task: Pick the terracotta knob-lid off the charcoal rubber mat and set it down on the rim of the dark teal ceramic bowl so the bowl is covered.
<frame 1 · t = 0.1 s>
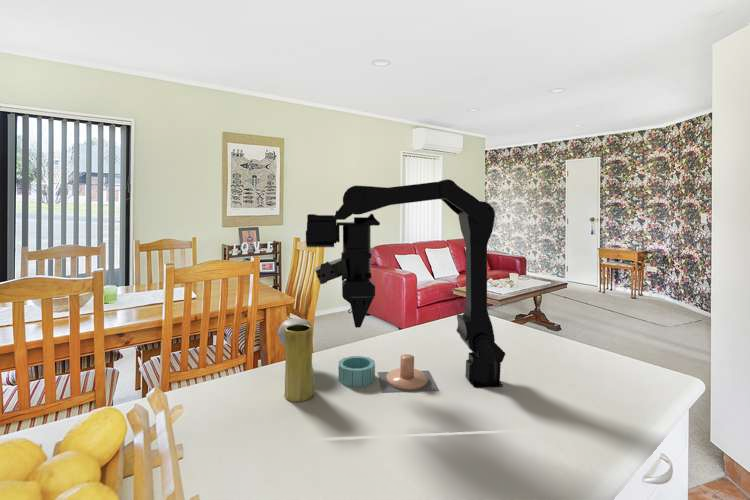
hand: (356, 320, 85), 15 cm above the kitchen counter, fingers open, 9 cm apart
vase: (299, 395, 83), on the kitchen counter
lid: (406, 380, 89), resting on mat
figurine: (296, 369, 95), on the kitchen counter
mat: (406, 382, 89), on the kitchen counter
bowl: (356, 380, 90), on the kitchen counter
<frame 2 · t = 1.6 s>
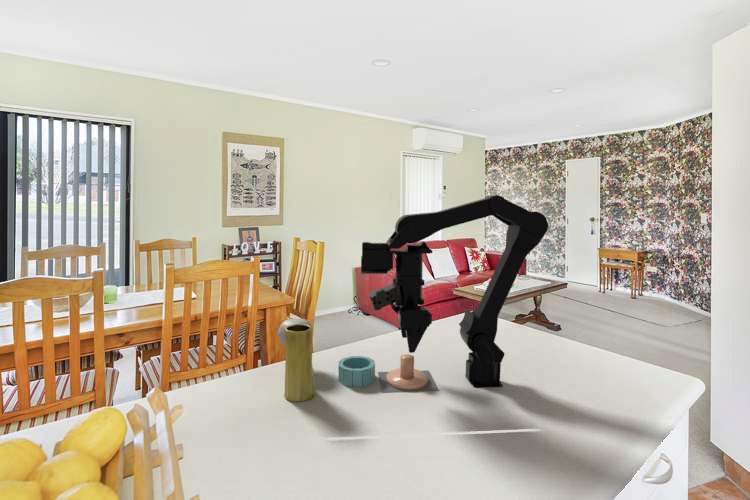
hand: (408, 344, 88), 9 cm above the kitchen counter, fingers open, 9 cm apart
nothing on the kitchen counter moved.
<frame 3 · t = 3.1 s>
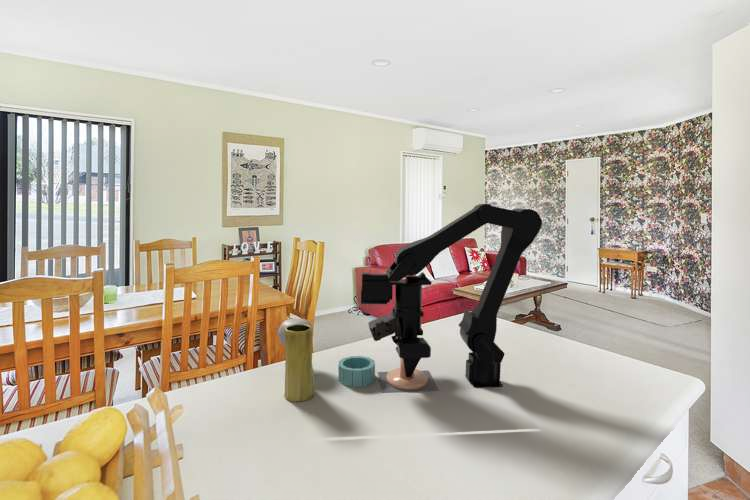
hand: (407, 373, 88), 2 cm above the kitchen counter, fingers closed on lid, 3 cm apart
lid: (406, 380, 89), resting on mat, touching gripper
everything else where it was.
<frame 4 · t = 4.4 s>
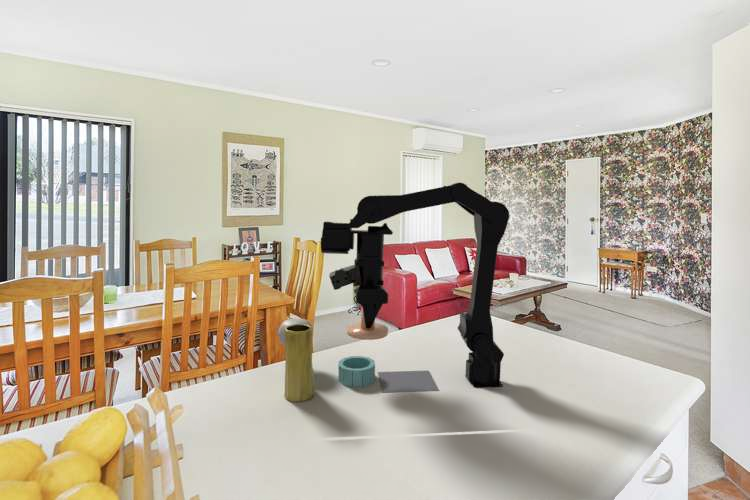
hand: (367, 325, 88), 13 cm above the kitchen counter, fingers closed on lid, 3 cm apart
lid: (367, 332, 88), point 11 cm above the kitchen counter, touching gripper
everything else where it was.
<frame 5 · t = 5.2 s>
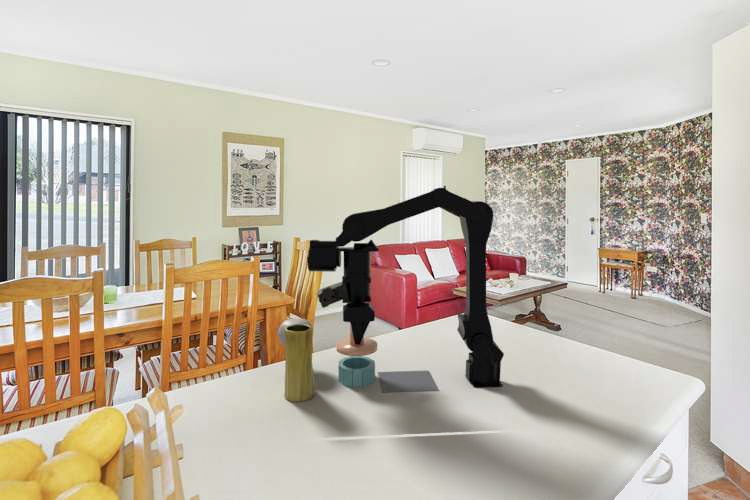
hand: (357, 341, 89), 9 cm above the kitchen counter, fingers closed on lid, 3 cm apart
lid: (356, 348, 89), point 7 cm above the kitchen counter, touching gripper
everything else where it was.
when the fingers open (7 cm above the kitchen counter, at t = 5.8 s): lid drops 1 cm, resting on bowl.
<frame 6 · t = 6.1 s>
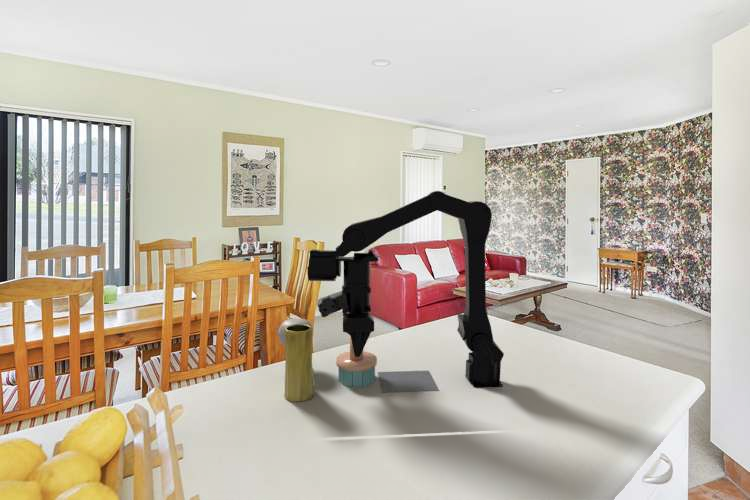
hand: (356, 350, 89), 7 cm above the kitchen counter, fingers open, 6 cm apart
lid: (356, 362, 89), point 4 cm above the kitchen counter, touching bowl
everything else where it was.
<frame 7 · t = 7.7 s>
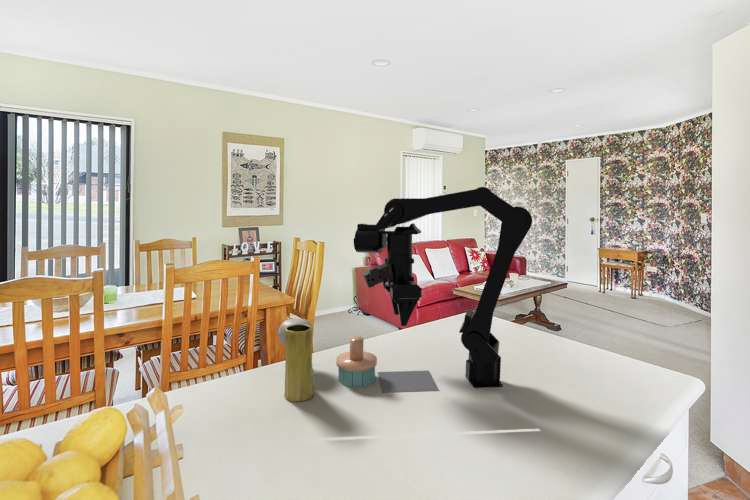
hand: (399, 319, 94), 12 cm above the kitchen counter, fingers open, 9 cm apart
nothing on the kitchen counter moved.
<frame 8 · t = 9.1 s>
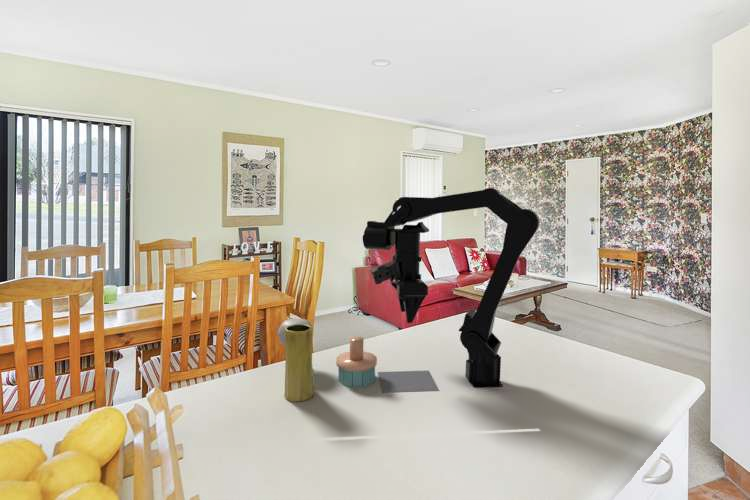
hand: (406, 316, 95), 13 cm above the kitchen counter, fingers open, 9 cm apart
nothing on the kitchen counter moved.
at the end: lid 0.0 cm off-centre on the bowl, point 4.0 cm above the bowl's base; lid tilted 0°; the gripper is holding nothing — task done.
